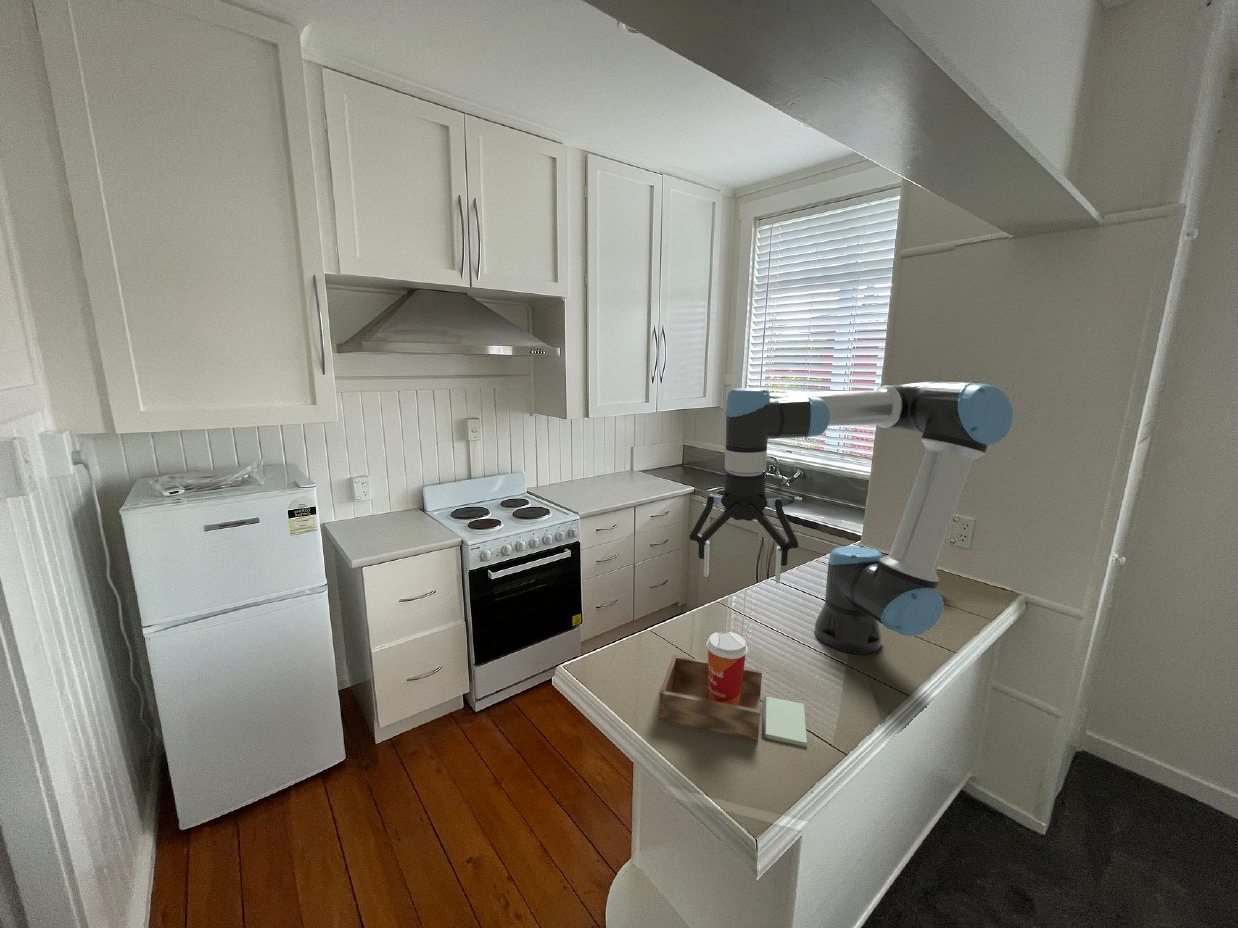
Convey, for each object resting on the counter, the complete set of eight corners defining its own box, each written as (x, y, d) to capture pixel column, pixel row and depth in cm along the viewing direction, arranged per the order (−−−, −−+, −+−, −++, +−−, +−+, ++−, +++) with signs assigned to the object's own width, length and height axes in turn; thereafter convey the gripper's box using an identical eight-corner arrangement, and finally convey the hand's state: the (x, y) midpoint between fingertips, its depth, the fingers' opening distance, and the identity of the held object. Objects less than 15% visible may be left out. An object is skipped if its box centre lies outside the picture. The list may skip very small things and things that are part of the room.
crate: (759, 699, 102) (762, 670, 101) (757, 745, 90) (760, 712, 89) (672, 682, 107) (673, 654, 106) (658, 723, 95) (659, 692, 94)
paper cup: (699, 694, 101) (702, 630, 99) (736, 692, 102) (740, 629, 99) (709, 721, 94) (712, 652, 91) (749, 719, 94) (754, 651, 92)
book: (762, 702, 101) (803, 710, 99) (761, 741, 91) (806, 751, 88) (763, 695, 101) (803, 703, 99) (762, 733, 90) (807, 743, 88)
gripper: (813, 470, 95) (807, 575, 99) (681, 464, 102) (680, 563, 106) (818, 479, 88) (810, 592, 92) (675, 473, 95) (675, 578, 99)
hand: (741, 577), depth 99 cm, fingers open, 13 cm apart
